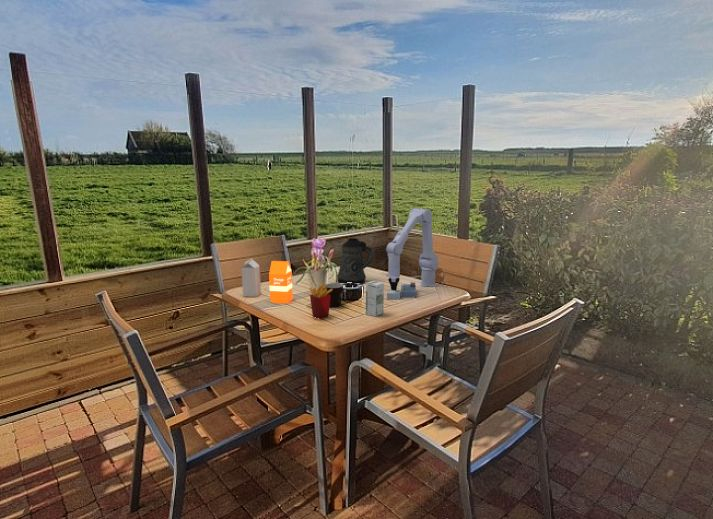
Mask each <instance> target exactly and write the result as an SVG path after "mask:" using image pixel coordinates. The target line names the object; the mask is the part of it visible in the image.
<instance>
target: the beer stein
mask: <svg viewBox="0 0 713 519" xmlns="http://www.w3.org/2000/svg"><path fill="white" fill-rule="evenodd" d="M340 249H341V257H340V258H341V259H340V265H339V269H338V272H337V275H336V278H337V277H338V278H337V283H347V282H352V283H361V284H360V285H363V284H364V283H366V278H367V276H366V273H365V268H367V267H368V266H369V265H370V263H371V261H373V260H372V259H373V255H374V254H373V250H372V248H371V247H369V246H367V243H366V242H365V241H361V240H359V239H358V238H355V237H353V238H352V237H351V238H348V240H347V241H346V242H344V243H343V244H342V245H341V246H340ZM362 252H365V253H367V254H368V257H367V258H366V260H365V262H364V263H363V255H362Z"/></svg>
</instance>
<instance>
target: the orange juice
mask: <svg viewBox="0 0 713 519" xmlns="http://www.w3.org/2000/svg"><path fill="white" fill-rule="evenodd" d="M292 273H293V272H292V268H291V265H290V262H289V261H288V260H287V261H286V260H285V261H284V260H280V261H279V260H271V264H270V268H269V273H268V278H269V279H268V280H269V281H268V282H269V299H270V300H269V301H270V302H273V303H272V304H285V303H288V304H289V303H290V302H291V301H292V300H294V299H293V297H294V296H293V274H292Z"/></svg>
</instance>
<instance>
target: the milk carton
mask: <svg viewBox="0 0 713 519" xmlns="http://www.w3.org/2000/svg"><path fill="white" fill-rule="evenodd" d="M260 268H261V267H260V265H259V264H258V262H256V261H255V260H254V257H251V258H249V259H248V260H246V261H245V262H244V263H243V265H242V267H241V268H240V269H241V283H242V286H241V287H242V296H243V298H245V297H246V298H250V297H251V298H257V297H259V295H260V294H262V288H261V286H262V285H261V271H260Z"/></svg>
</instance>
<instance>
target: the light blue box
mask: <svg viewBox="0 0 713 519" xmlns="http://www.w3.org/2000/svg"><path fill="white" fill-rule="evenodd" d="M386 300H401V289H400V290H399V289H398V290H391V289H387V292H386Z"/></svg>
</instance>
